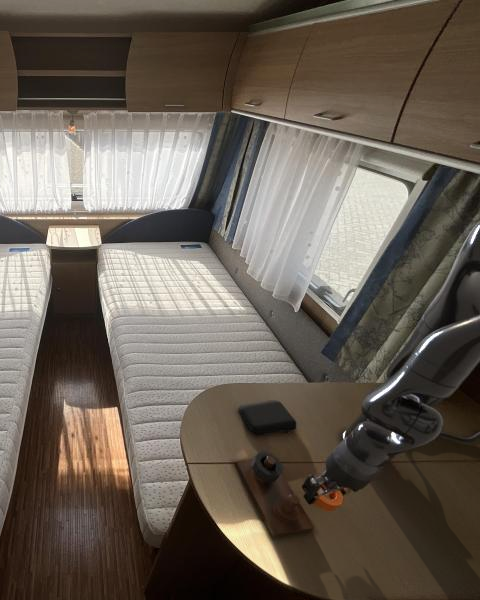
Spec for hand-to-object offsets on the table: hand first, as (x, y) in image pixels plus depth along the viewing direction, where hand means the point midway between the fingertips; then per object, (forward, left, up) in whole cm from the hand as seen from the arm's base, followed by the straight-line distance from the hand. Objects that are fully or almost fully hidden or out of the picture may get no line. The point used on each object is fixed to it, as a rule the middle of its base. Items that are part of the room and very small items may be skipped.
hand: (320, 498), depth 80 cm
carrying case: (-1, -23, -3) cm, 23 cm away
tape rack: (+10, -3, -3) cm, 11 cm away
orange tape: (0, 0, +1) cm, 1 cm away
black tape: (+10, -8, +1) cm, 13 cm away
